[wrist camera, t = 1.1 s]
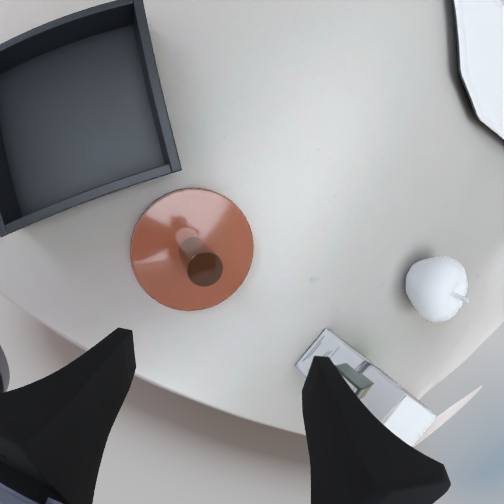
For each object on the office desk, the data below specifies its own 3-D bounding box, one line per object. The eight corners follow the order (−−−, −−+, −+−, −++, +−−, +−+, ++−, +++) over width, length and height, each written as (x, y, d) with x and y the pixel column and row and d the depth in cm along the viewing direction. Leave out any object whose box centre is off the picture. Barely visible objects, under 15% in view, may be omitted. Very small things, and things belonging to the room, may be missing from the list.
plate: (447, 106, 29) (462, 105, 27) (433, -54, 23) (443, -58, 21) (528, 168, 39) (537, 170, 37) (520, 36, 33) (529, 35, 31)
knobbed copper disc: (154, 322, 24) (160, 355, 19) (114, 210, 21) (107, 221, 16) (261, 283, 26) (287, 307, 22) (234, 173, 23) (257, 174, 19)
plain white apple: (416, 235, 31) (475, 254, 24) (441, 266, 34) (493, 287, 27) (384, 292, 31) (440, 322, 24) (413, 316, 34) (463, 344, 27)
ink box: (368, 358, 33) (440, 416, 22) (340, 392, 33) (404, 457, 22) (325, 326, 29) (409, 394, 19) (292, 365, 29) (362, 446, 19)
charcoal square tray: (20, 226, 18) (0, 237, 15) (-11, 75, 14) (-32, 61, 11) (174, 170, 22) (182, 170, 18) (139, 18, 18) (141, -6, 14)
